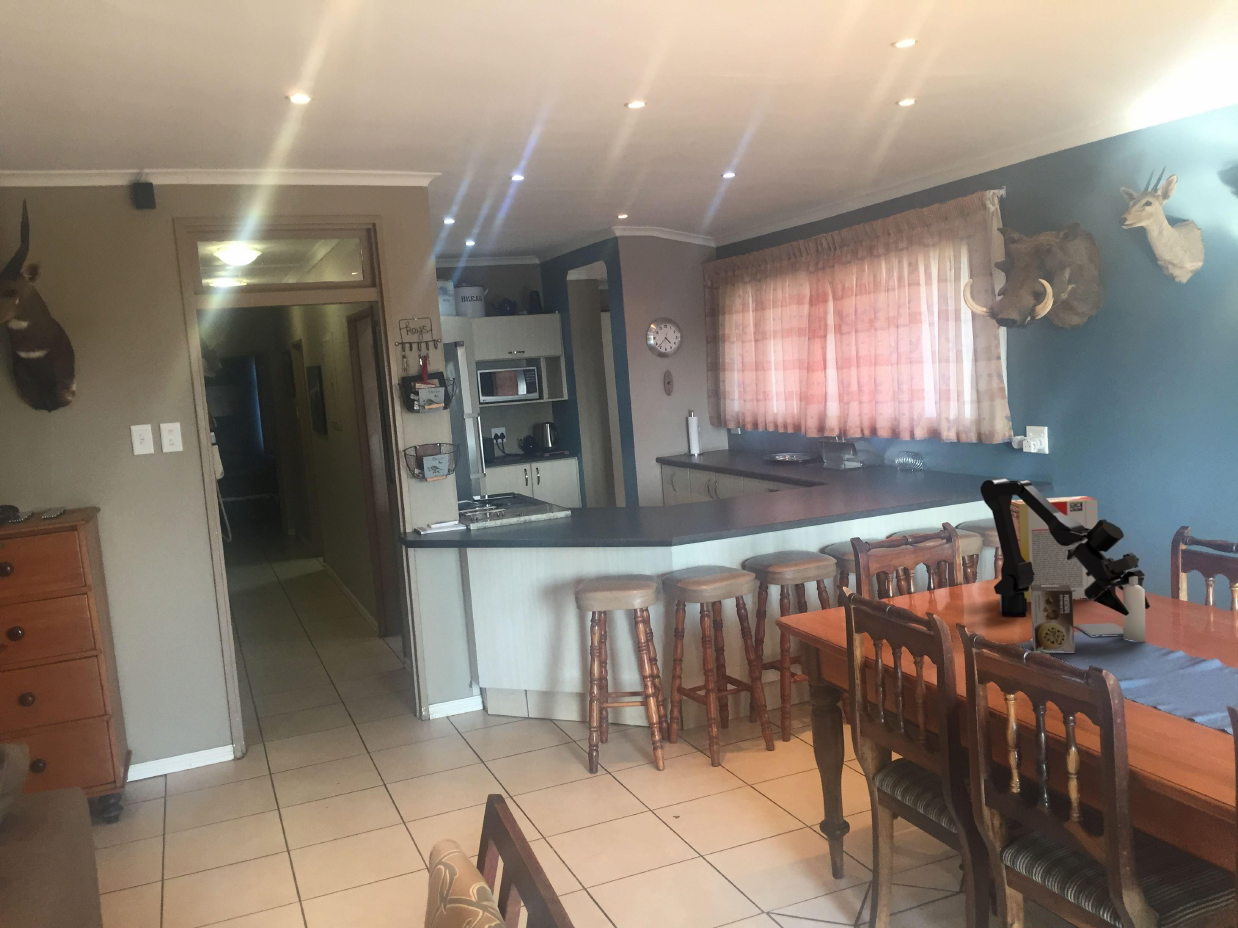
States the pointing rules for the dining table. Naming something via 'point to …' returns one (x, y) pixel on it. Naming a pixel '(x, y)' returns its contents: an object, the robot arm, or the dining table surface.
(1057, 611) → the cookie box
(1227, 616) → the dining table surface
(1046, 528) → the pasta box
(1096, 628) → the coaster
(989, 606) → the dining table surface
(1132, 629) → the white bottle
